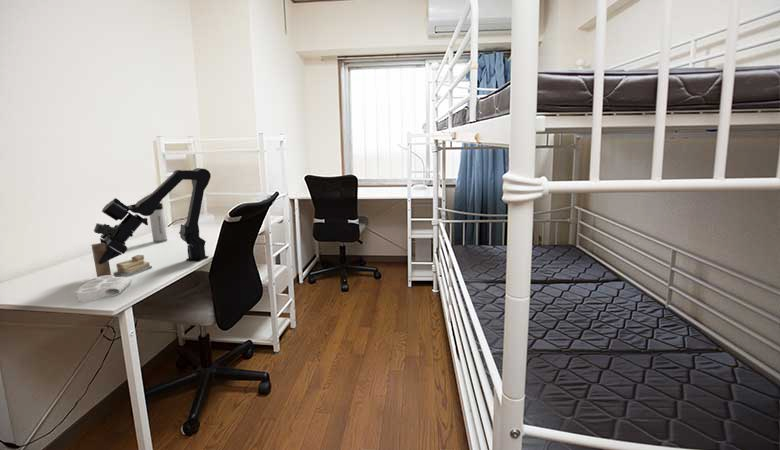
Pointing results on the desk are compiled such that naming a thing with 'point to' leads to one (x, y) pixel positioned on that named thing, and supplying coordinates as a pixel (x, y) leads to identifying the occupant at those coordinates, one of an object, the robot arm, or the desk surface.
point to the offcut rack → (132, 266)
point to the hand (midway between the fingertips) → (97, 261)
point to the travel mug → (158, 225)
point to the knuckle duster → (102, 287)
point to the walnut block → (97, 253)
